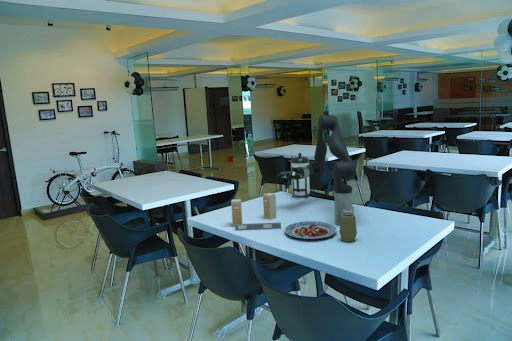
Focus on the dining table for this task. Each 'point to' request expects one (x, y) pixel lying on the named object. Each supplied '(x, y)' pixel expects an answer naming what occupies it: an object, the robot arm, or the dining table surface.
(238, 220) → the faced carton
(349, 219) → the squeeze bottle
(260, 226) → the rail
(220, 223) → the dining table surface
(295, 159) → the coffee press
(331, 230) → the ceramic plate
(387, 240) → the dining table surface
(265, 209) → the carton
